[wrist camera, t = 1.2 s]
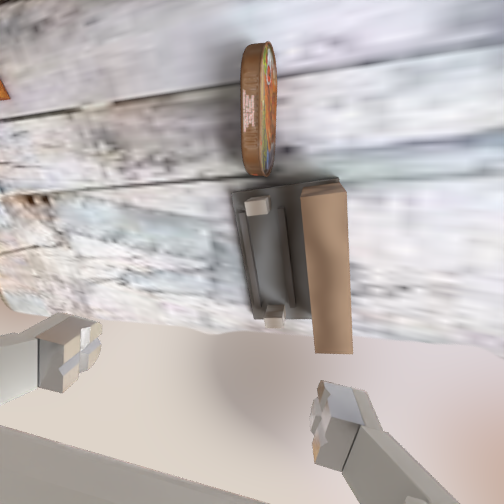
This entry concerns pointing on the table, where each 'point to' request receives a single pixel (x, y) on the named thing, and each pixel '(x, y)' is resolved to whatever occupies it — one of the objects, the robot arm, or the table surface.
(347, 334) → the cabinet
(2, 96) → the kendama
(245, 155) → the tin
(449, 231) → the table surface
